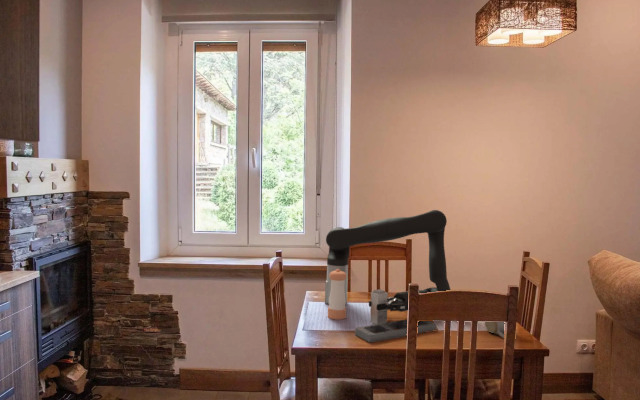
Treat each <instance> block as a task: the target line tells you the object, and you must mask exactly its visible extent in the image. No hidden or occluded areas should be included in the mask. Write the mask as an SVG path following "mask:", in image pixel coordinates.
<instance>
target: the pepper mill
mask: <svg viewBox="0 0 640 400" xmlns="http://www.w3.org/2000/svg"><path fill="white" fill-rule="evenodd" d="M329 278H330V279H331V291H330V296H329V304H328V307H327V318H329V319H332V320H344V319H346V318H347V307H346V304H345V301H346V300H345V291H344V285H345V279H346V278H347V275H346V273H345V272H343V271H340V269H336V271H332V272H331V273H330V274H329Z"/></svg>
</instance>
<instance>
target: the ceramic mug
mask: <svg viewBox="0 0 640 400" xmlns="http://www.w3.org/2000/svg"><path fill="white" fill-rule="evenodd" d="M504 324H505V323H504V322H485V321H484V326H485V328H486V331H487V332H488V331H489V332H491V333H494V334H493V335H499V336H500V337H501V338H503V337H504V335H505V334H504ZM491 333H490V334H491Z"/></svg>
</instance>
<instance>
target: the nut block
mask: <svg viewBox="0 0 640 400" xmlns="http://www.w3.org/2000/svg"><path fill="white" fill-rule="evenodd" d="M388 295H389V293H388V292H386V290H383V289H380V288H379V289H374V290H372V291H371V292H370V301H371V307H370V314H369V315H370V316H369V317H370V319H369V322H370V323H371V324H372V325H376V324H382V323H388V321H387V320H388V310H386V309H385V310H377V304H383V303H385V304H386V303H387V300H388Z"/></svg>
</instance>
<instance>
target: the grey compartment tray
mask: <svg viewBox="0 0 640 400" xmlns="http://www.w3.org/2000/svg"><path fill="white" fill-rule="evenodd" d="M407 319H408V318H406V319H402V320H395V321H390V322H388V321H387V323H382V324H376V325H375V324H371V325H370V324H369V325H365V326H359V327H355V331H354V336H356V337H358V338H360V339H362V340H363V341H366V342H368V343H369V344H371V343H377V342H382V341H387V340H392V339H393V340H394V339H399V338H403V337H407V336H406V334H407ZM437 327H438V326H437V323H435V322H433V321H430V320H428V321H419V322H418V333H421V334H423V333H422V332H426V333H428V332H427V331H431V332H434V331H433V330H436V331H437Z"/></svg>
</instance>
